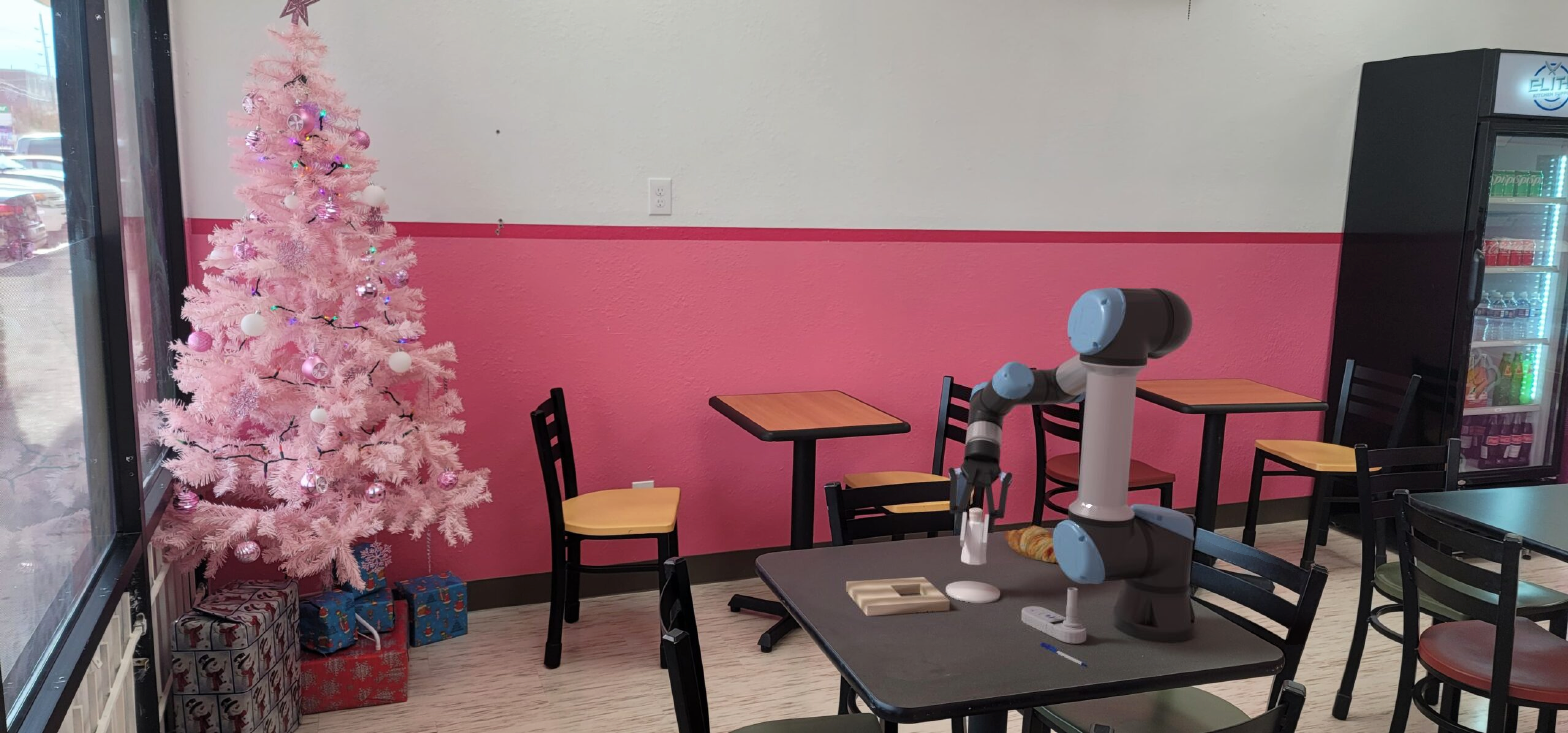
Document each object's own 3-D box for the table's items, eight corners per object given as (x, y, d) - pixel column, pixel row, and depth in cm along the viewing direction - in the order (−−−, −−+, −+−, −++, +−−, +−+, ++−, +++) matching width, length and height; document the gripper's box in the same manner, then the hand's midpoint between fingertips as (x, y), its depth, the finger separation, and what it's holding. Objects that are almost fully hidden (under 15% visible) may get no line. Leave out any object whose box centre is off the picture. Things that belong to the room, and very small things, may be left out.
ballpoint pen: (1038, 647, 185) (1039, 641, 185) (1042, 646, 186) (1042, 640, 186) (1084, 668, 177) (1084, 662, 177) (1088, 667, 177) (1088, 661, 177)
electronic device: (1038, 568, 200) (1094, 591, 187) (1037, 617, 201) (1092, 643, 188) (1017, 572, 197) (1071, 595, 184) (1015, 621, 198) (1070, 648, 185)
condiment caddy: (949, 610, 202) (949, 600, 201) (867, 615, 198) (867, 606, 197) (923, 586, 215) (923, 577, 215) (846, 591, 211) (846, 581, 211)
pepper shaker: (967, 566, 208) (970, 513, 206) (955, 557, 213) (958, 506, 211) (991, 564, 209) (994, 512, 207) (979, 556, 214) (982, 505, 213)
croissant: (1078, 581, 232) (1092, 548, 233) (1051, 567, 226) (1066, 534, 227) (1011, 553, 249) (1025, 523, 250) (985, 539, 244) (999, 508, 245)
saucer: (1009, 601, 207) (1009, 597, 207) (958, 605, 205) (958, 601, 205) (986, 583, 218) (986, 579, 218) (937, 586, 215) (937, 582, 215)
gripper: (1022, 460, 221) (1015, 557, 207) (944, 454, 225) (932, 549, 211) (1023, 441, 215) (1016, 540, 202) (942, 435, 219) (930, 531, 206)
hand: (973, 544), depth 207 cm, fingers closed on pepper shaker, 4 cm apart
